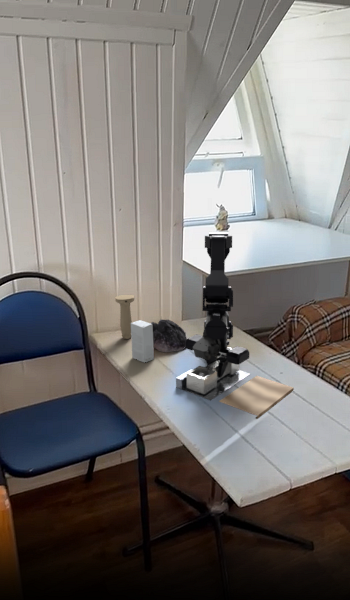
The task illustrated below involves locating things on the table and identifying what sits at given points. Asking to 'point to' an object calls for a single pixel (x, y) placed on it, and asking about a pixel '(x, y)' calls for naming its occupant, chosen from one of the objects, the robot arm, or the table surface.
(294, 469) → the table surface
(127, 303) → the handle
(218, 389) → the plate
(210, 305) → the robot arm
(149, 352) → the skincare box
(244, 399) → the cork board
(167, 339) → the crystal cluster
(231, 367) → the white open-top bracket
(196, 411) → the table surface
